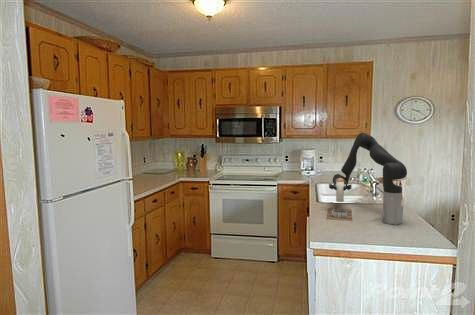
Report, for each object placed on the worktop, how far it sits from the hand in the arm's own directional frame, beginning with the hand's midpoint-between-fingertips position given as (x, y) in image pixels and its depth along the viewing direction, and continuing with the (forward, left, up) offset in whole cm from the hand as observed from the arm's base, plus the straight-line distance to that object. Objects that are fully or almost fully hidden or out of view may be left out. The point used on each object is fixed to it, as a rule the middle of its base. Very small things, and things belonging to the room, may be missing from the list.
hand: (340, 188), depth 191 cm
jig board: (-1, +1, -16) cm, 16 cm away
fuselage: (+2, -2, -8) cm, 8 cm away
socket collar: (-4, +5, -15) cm, 16 cm away
